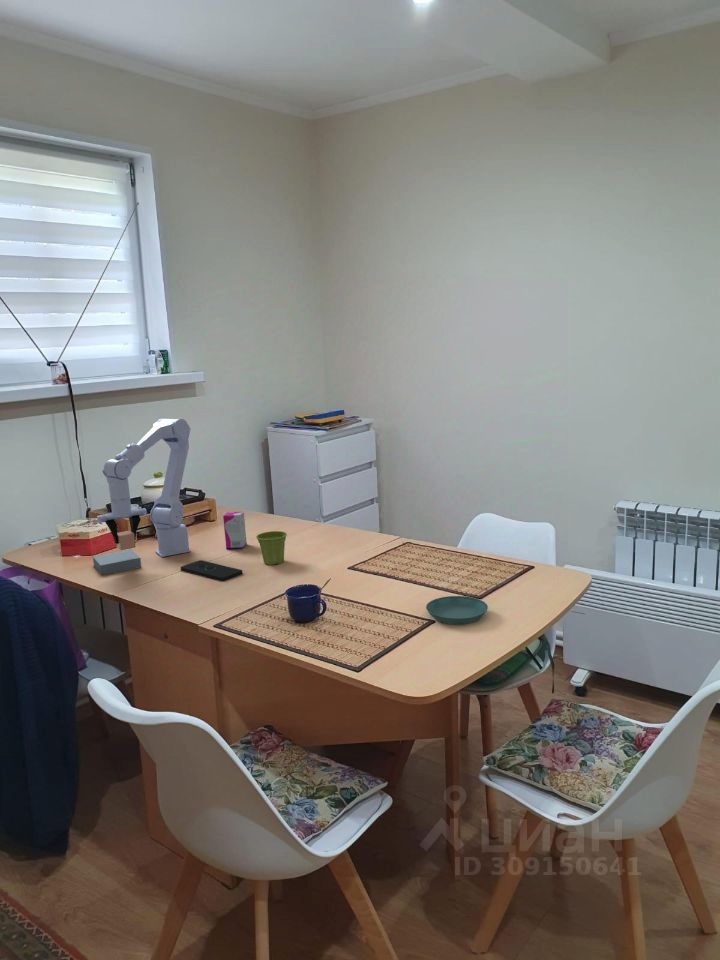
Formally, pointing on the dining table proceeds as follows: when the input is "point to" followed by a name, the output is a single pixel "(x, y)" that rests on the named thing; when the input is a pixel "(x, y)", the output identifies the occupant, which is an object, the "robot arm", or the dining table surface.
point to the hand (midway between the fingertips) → (125, 541)
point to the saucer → (457, 609)
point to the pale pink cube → (126, 540)
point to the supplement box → (235, 530)
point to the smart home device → (211, 570)
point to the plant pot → (272, 546)
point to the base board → (116, 561)
